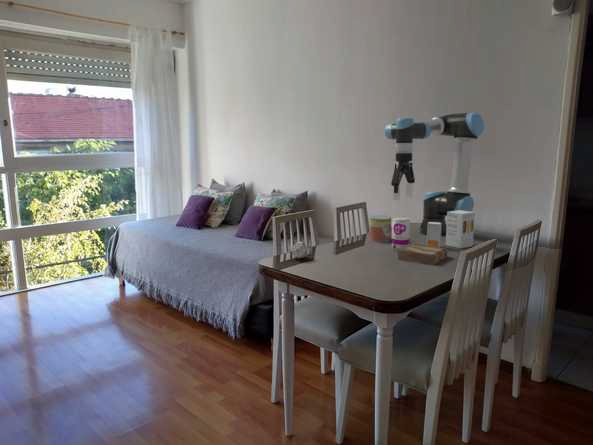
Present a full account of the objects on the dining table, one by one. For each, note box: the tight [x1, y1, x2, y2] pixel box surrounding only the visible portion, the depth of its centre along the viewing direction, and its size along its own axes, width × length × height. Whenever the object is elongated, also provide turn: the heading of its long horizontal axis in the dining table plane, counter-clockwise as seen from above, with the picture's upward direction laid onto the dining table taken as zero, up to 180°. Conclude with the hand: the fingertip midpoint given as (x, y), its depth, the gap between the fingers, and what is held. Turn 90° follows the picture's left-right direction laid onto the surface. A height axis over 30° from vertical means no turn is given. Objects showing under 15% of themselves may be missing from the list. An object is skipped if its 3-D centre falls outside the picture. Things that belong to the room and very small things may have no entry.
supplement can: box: [391, 216, 411, 252], centre depth 215 cm, size 8×8×15 cm
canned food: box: [368, 214, 392, 243], centre depth 236 cm, size 11×11×12 cm
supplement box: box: [445, 210, 476, 249], centre depth 220 cm, size 10×9×17 cm
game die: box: [289, 239, 311, 261], centre depth 202 cm, size 9×8×10 cm
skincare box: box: [425, 222, 442, 248], centre depth 218 cm, size 6×4×12 cm
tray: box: [397, 243, 448, 266], centre depth 200 cm, size 16×16×4 cm
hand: (402, 198), depth 211 cm, fingers open, 13 cm apart
